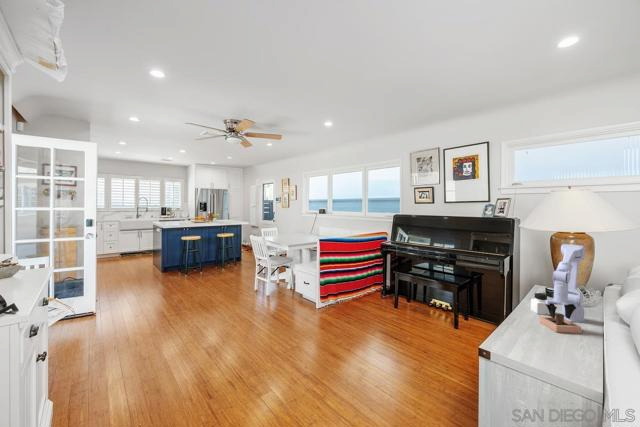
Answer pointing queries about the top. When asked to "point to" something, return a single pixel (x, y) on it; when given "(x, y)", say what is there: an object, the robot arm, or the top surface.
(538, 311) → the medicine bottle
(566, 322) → the orange square tray
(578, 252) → the robot arm
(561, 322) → the wick peg
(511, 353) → the top surface
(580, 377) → the top surface
